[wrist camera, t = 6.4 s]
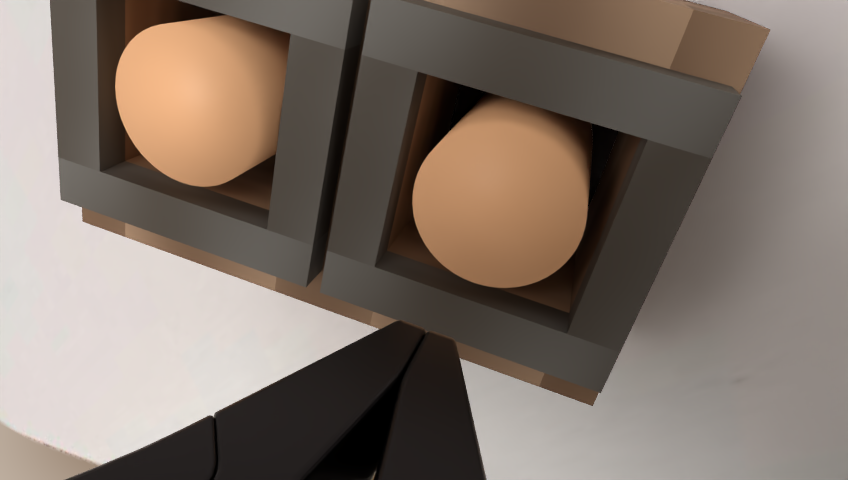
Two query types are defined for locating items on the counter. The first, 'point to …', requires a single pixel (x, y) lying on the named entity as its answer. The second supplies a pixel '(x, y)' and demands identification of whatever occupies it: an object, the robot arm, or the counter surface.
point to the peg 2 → (505, 193)
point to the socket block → (422, 157)
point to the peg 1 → (203, 96)
